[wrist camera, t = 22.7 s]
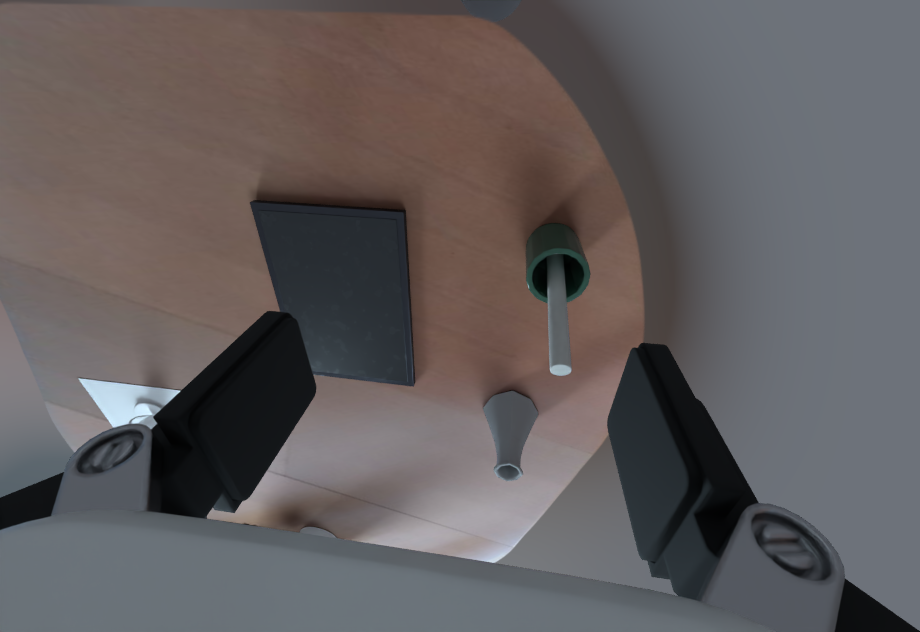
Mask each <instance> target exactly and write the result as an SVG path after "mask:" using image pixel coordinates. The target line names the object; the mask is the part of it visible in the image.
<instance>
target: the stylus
mask: <svg viewBox="0 0 920 632" xmlns="http://www.w3.org/2000/svg"><path fill="white" fill-rule="evenodd" d="M547 291H548V327H549V362H550V372H551V373H552V374H554V375H558V376H563V375H567V374H569V373H570V372H571V370H572V367H571V354H570V340H569V326H568V313H567V299H566V285H565V272H564V258H563V254H553V255H550V256H547Z"/></svg>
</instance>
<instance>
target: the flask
mask: <svg viewBox="0 0 920 632" xmlns="http://www.w3.org/2000/svg"><path fill="white" fill-rule="evenodd" d="M483 410H484V413H485V416H486V418H487V421H488V424H489V426H490V429H491V432H492V435H493V438H494V441H495V445H496V452H497V465H496V466H495V467H494V472H495V473H496V475H497V476H498V477H499V478H501V479H503V480H505V481H512V480H517V479H518V478H519V477H521V476H522V475H523V471H522V469H521V468H520V459H521V454H522V450H523V446H524V444H525V442H526V439H527V437H528V435H529V433H530V430H531V428H532V426H533V424H534V422H535V420H536V418H537V416H538V412H537V410H536V408H535V406H534V404H533V403H532V401H531V399H529V398H527V397H525V396H523V395H521V394H518V393H516V392H514V391H509V392H505V393H501V394H497V395H494V396H492V397H491V399H490V400H489V401H488V402H487V404H486V405H485V406H484V407H483Z"/></svg>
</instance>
